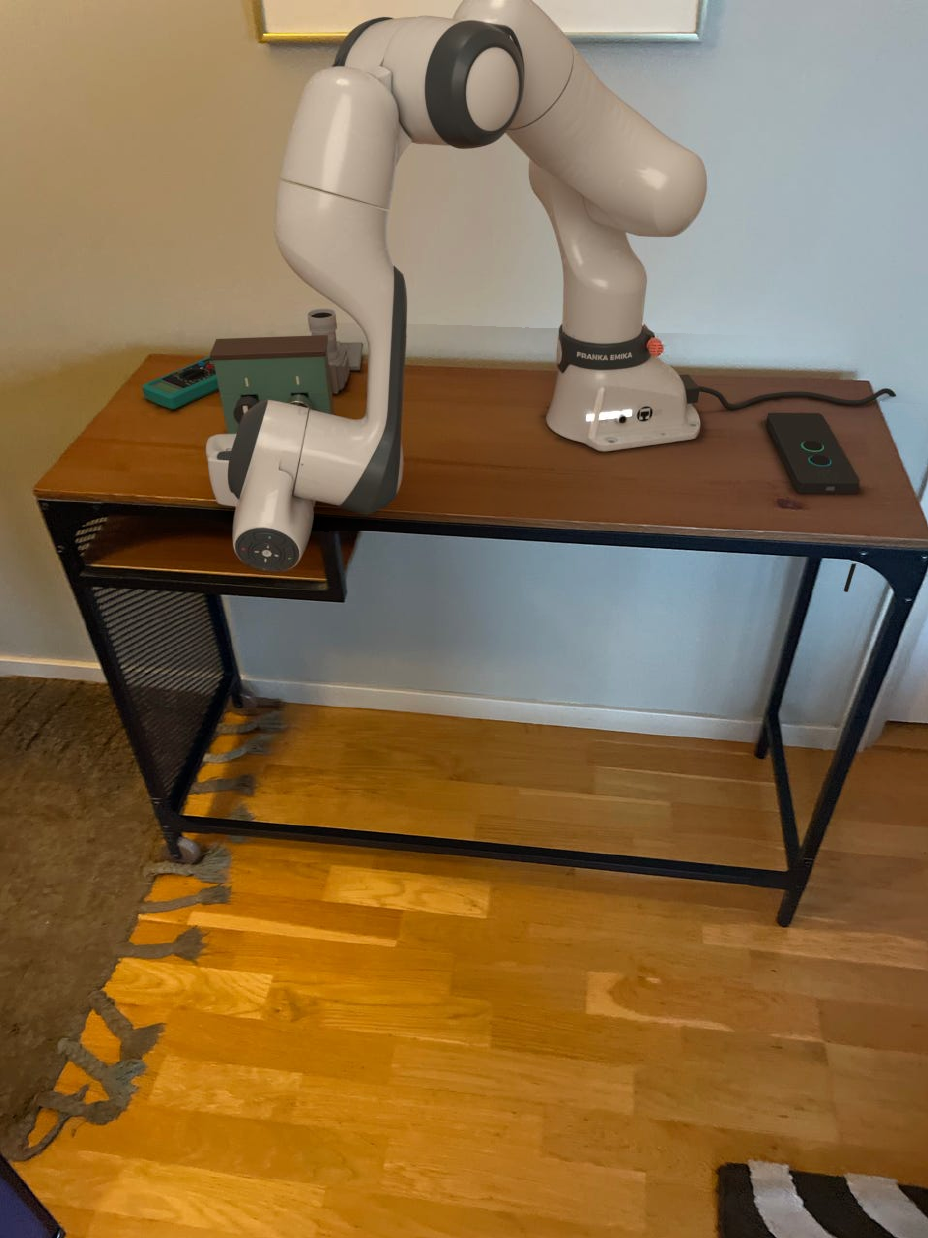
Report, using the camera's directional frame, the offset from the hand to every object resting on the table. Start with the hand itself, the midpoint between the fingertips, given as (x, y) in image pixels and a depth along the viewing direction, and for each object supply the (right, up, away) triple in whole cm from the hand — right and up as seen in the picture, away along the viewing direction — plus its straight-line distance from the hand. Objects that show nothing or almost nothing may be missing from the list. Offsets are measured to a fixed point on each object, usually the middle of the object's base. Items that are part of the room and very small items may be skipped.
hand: (293, 426), depth 122 cm
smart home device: (+71, -3, +5) cm, 71 cm away
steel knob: (0, +3, +6) cm, 7 cm away
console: (-4, +1, +12) cm, 13 cm away
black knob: (-7, +2, +6) cm, 10 cm away
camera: (+1, +14, +28) cm, 32 cm away
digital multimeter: (-20, +11, +25) cm, 34 cm away
